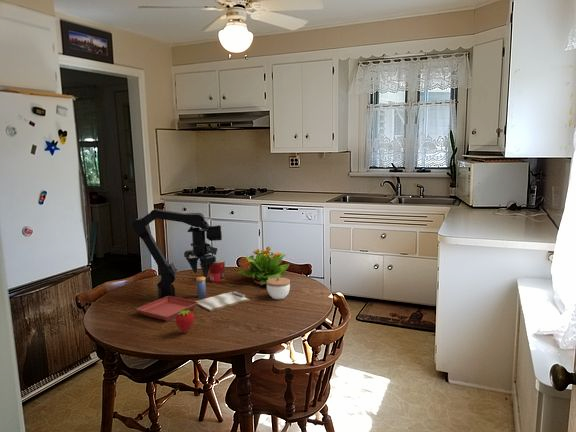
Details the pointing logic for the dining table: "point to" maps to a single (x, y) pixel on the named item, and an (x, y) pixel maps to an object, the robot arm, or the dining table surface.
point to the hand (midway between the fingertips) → (200, 274)
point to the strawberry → (185, 320)
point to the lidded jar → (278, 287)
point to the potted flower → (264, 266)
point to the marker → (201, 287)
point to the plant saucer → (166, 307)
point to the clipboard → (222, 301)
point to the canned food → (217, 271)
